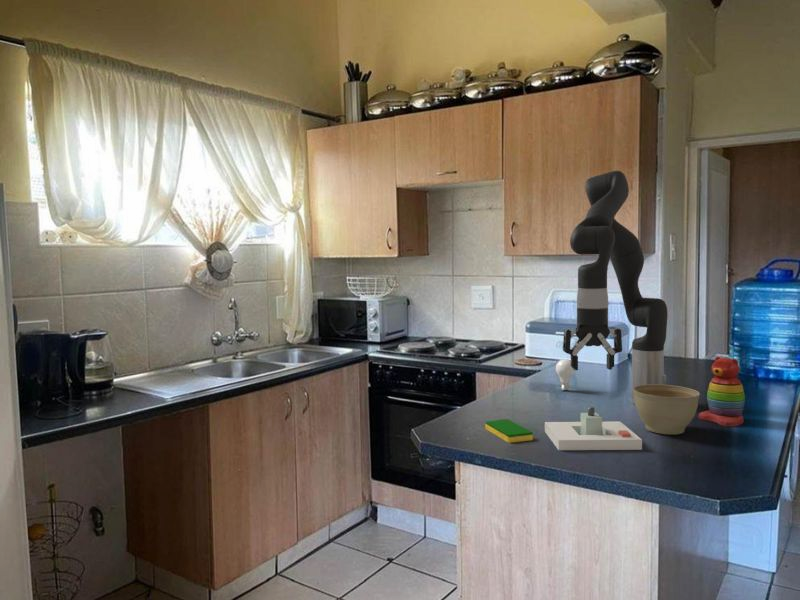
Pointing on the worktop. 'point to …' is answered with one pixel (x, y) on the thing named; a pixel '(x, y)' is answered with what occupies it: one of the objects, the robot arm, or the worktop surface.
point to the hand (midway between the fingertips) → (592, 369)
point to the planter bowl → (666, 407)
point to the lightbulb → (564, 373)
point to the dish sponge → (509, 430)
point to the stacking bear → (725, 394)
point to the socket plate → (592, 437)
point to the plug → (590, 423)
